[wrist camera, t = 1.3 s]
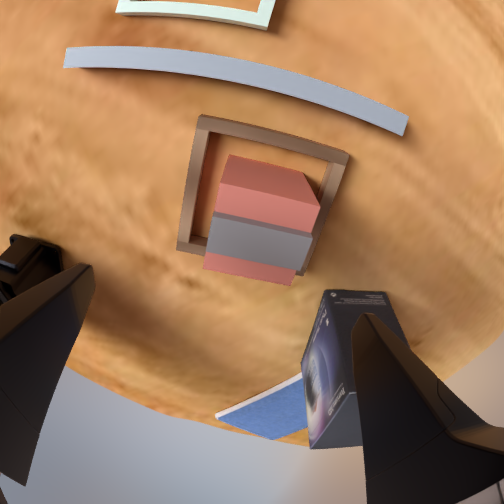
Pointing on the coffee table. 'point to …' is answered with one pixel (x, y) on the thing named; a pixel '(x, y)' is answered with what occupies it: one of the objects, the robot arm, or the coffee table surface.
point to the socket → (199, 12)
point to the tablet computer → (271, 411)
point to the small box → (338, 366)
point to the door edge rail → (239, 78)
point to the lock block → (261, 221)
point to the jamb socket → (263, 135)
